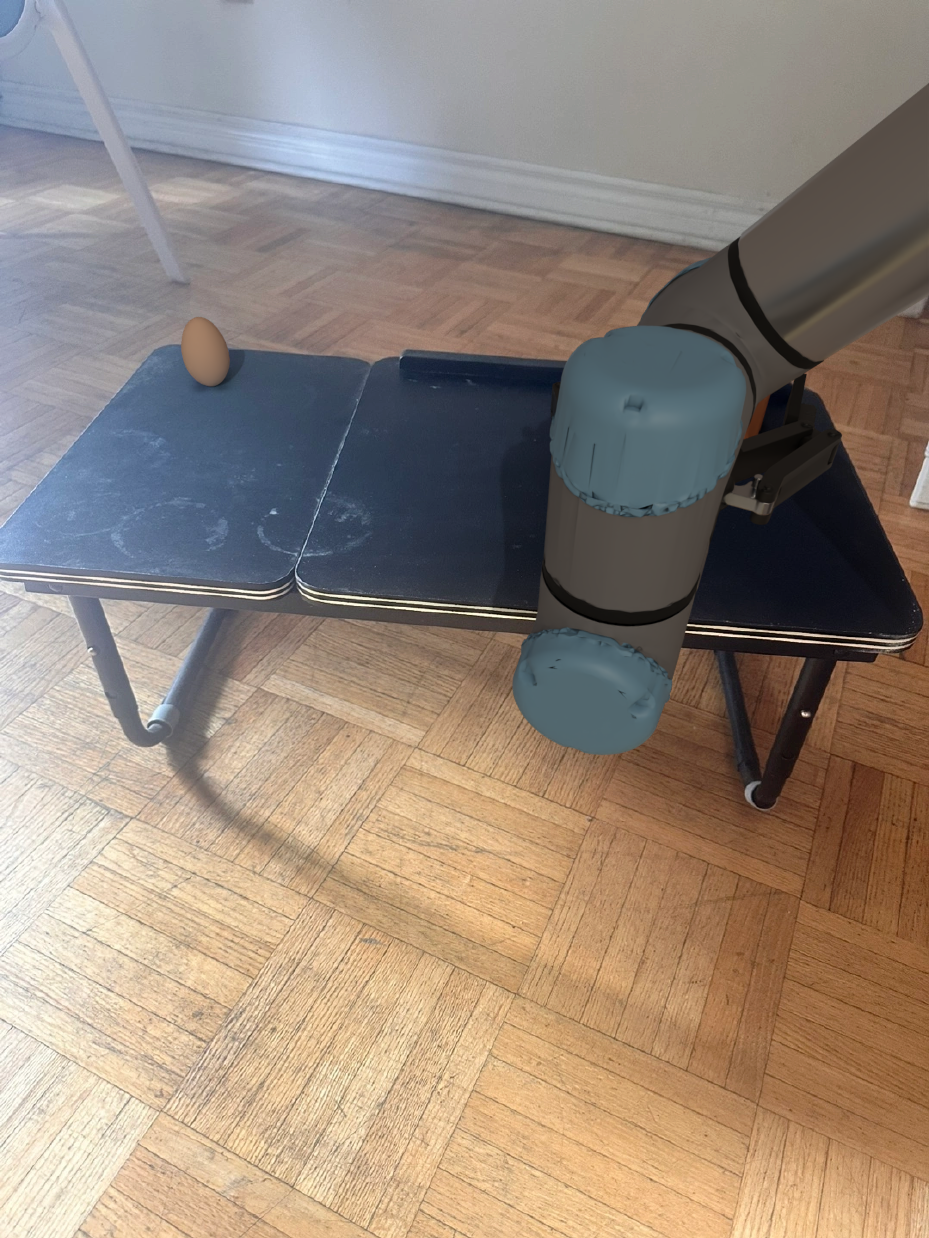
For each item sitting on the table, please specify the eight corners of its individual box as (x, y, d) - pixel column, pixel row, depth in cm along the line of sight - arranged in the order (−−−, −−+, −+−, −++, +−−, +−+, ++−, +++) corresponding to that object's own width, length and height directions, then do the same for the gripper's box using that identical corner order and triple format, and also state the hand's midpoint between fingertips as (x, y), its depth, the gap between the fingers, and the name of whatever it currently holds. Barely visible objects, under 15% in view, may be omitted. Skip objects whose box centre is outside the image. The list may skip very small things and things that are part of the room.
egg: (194, 399, 96) (177, 331, 90) (186, 379, 99) (169, 312, 94) (239, 390, 98) (225, 323, 92) (229, 370, 101) (215, 305, 95)
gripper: (456, 535, 55) (549, 391, 70) (845, 627, 49) (859, 447, 63) (454, 439, 50) (555, 304, 64) (889, 527, 44) (894, 355, 58)
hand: (705, 374), depth 64 cm, fingers open, 13 cm apart
